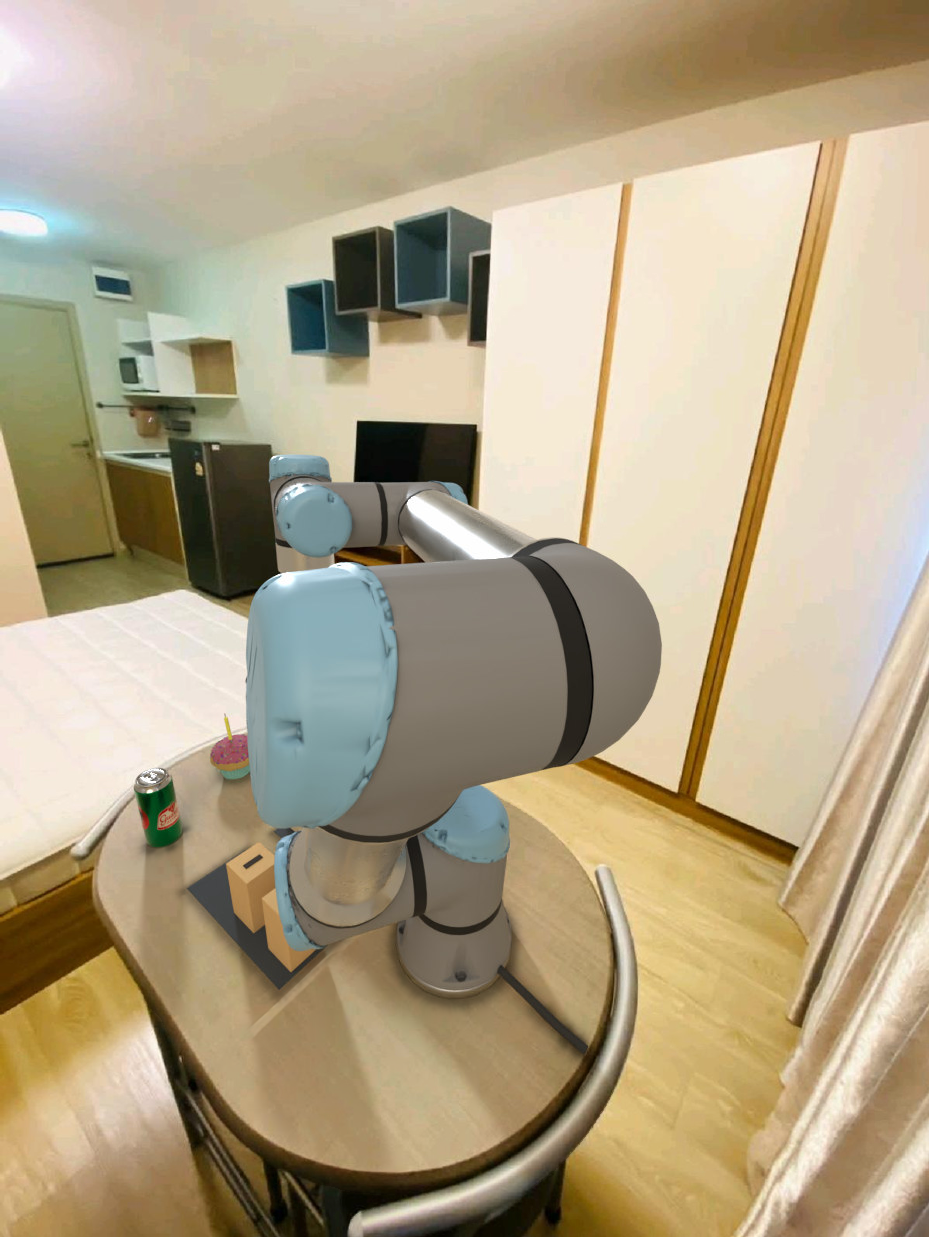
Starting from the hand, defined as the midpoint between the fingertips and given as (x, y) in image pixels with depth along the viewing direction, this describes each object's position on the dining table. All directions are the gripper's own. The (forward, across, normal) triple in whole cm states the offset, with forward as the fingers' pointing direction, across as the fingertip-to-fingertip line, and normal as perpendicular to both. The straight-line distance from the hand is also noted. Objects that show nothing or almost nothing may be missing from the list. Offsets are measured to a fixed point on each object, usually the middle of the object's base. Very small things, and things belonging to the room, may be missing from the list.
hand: (315, 705), depth 79 cm
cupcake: (+22, +2, -22) cm, 31 cm away
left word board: (+22, +17, +7) cm, 29 cm away
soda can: (+22, +18, -16) cm, 33 cm away
